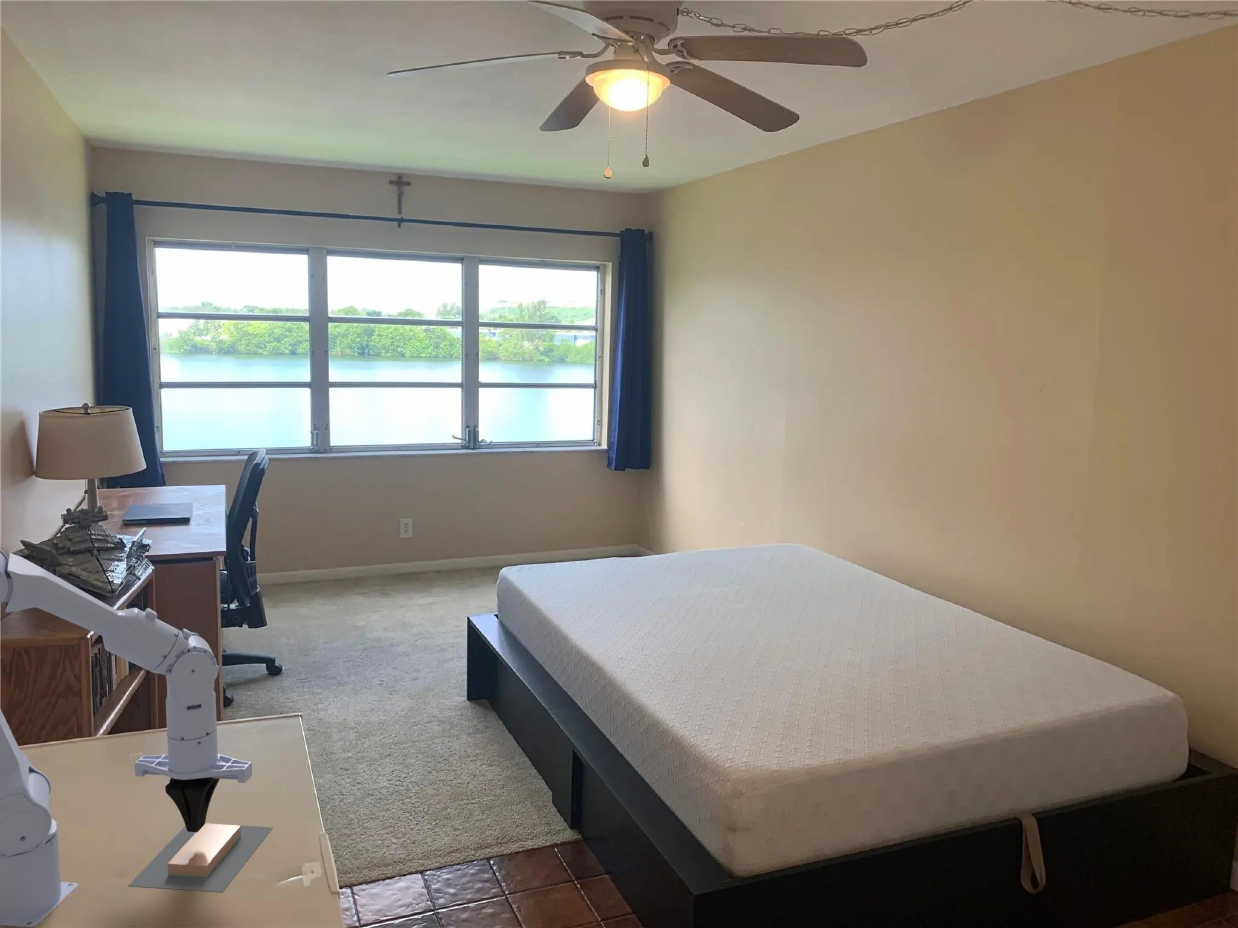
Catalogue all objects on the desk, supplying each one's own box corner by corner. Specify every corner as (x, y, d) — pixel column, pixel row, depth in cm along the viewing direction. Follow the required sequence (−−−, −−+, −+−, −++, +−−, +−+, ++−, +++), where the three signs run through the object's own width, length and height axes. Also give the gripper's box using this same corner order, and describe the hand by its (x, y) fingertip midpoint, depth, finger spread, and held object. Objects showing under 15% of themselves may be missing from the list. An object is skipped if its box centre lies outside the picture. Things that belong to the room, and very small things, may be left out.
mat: (128, 888, 107) (127, 885, 107) (189, 824, 120) (188, 821, 120) (222, 894, 106) (222, 891, 106) (273, 829, 120) (273, 827, 120)
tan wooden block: (206, 877, 109) (168, 874, 109) (240, 836, 118) (205, 833, 118) (206, 865, 108) (167, 863, 109) (240, 825, 117) (204, 823, 117)
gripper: (261, 719, 114) (264, 813, 116) (155, 713, 115) (159, 807, 117) (235, 744, 107) (239, 844, 109) (122, 737, 108) (127, 837, 110)
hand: (196, 827), depth 113 cm, fingers closed
